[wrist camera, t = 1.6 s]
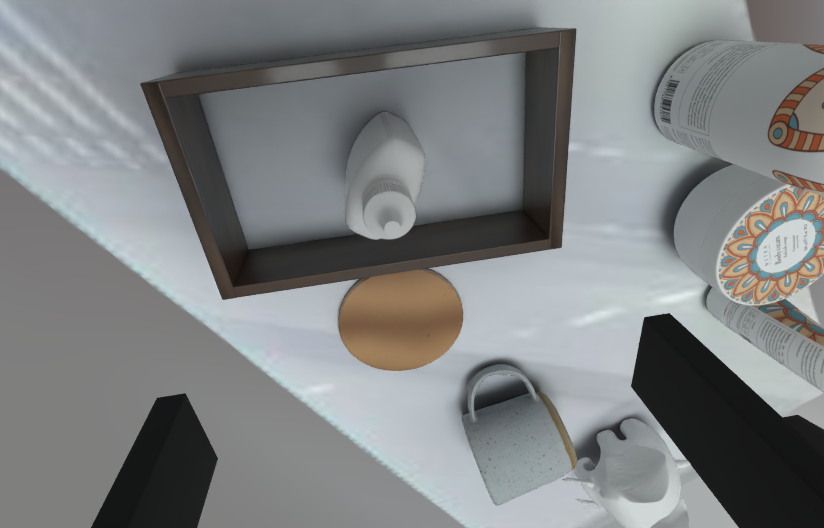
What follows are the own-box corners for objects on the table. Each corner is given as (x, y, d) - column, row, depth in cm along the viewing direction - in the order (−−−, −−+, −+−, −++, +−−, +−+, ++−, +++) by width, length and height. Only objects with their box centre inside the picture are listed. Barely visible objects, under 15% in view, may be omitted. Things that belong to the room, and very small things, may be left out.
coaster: (327, 275, 33) (327, 279, 33) (458, 255, 34) (460, 259, 33) (350, 375, 38) (350, 379, 38) (464, 356, 39) (466, 360, 38)
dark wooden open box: (175, 72, 26) (139, 83, 21) (540, 27, 27) (576, 28, 22) (239, 262, 32) (222, 300, 27) (534, 218, 33) (561, 248, 29)
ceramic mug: (554, 421, 44) (590, 492, 37) (477, 449, 45) (499, 524, 38) (529, 345, 39) (565, 410, 32) (442, 377, 40) (461, 449, 33)
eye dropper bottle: (322, 151, 29) (306, 225, 18) (394, 100, 28) (421, 148, 17) (361, 203, 31) (367, 296, 20) (430, 158, 30) (473, 231, 19)
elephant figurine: (543, 444, 46) (582, 530, 38) (653, 393, 44) (717, 472, 36) (572, 490, 50) (613, 575, 42) (673, 445, 48) (734, 526, 41)
